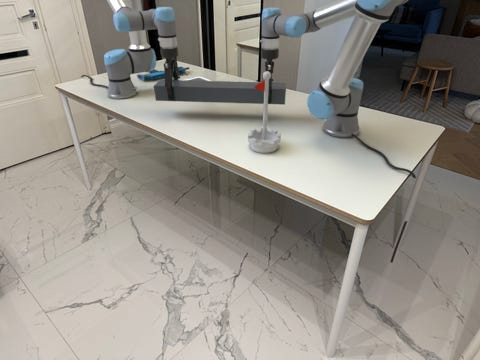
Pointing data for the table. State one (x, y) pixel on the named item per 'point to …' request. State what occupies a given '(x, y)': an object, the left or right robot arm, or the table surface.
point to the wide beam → (219, 92)
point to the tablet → (198, 79)
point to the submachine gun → (157, 74)
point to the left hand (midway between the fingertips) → (174, 96)
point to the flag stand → (264, 125)
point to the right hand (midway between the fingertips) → (268, 99)
